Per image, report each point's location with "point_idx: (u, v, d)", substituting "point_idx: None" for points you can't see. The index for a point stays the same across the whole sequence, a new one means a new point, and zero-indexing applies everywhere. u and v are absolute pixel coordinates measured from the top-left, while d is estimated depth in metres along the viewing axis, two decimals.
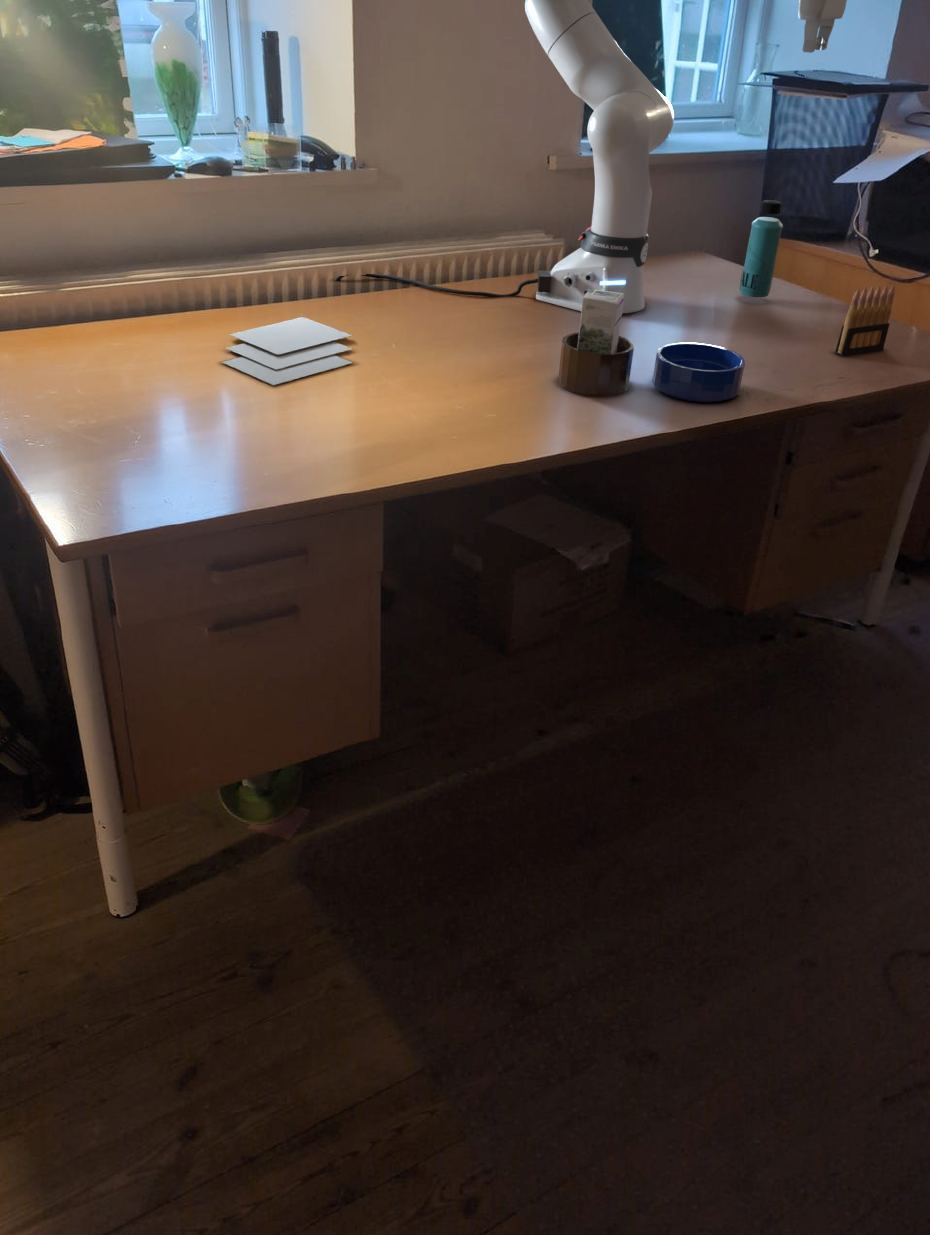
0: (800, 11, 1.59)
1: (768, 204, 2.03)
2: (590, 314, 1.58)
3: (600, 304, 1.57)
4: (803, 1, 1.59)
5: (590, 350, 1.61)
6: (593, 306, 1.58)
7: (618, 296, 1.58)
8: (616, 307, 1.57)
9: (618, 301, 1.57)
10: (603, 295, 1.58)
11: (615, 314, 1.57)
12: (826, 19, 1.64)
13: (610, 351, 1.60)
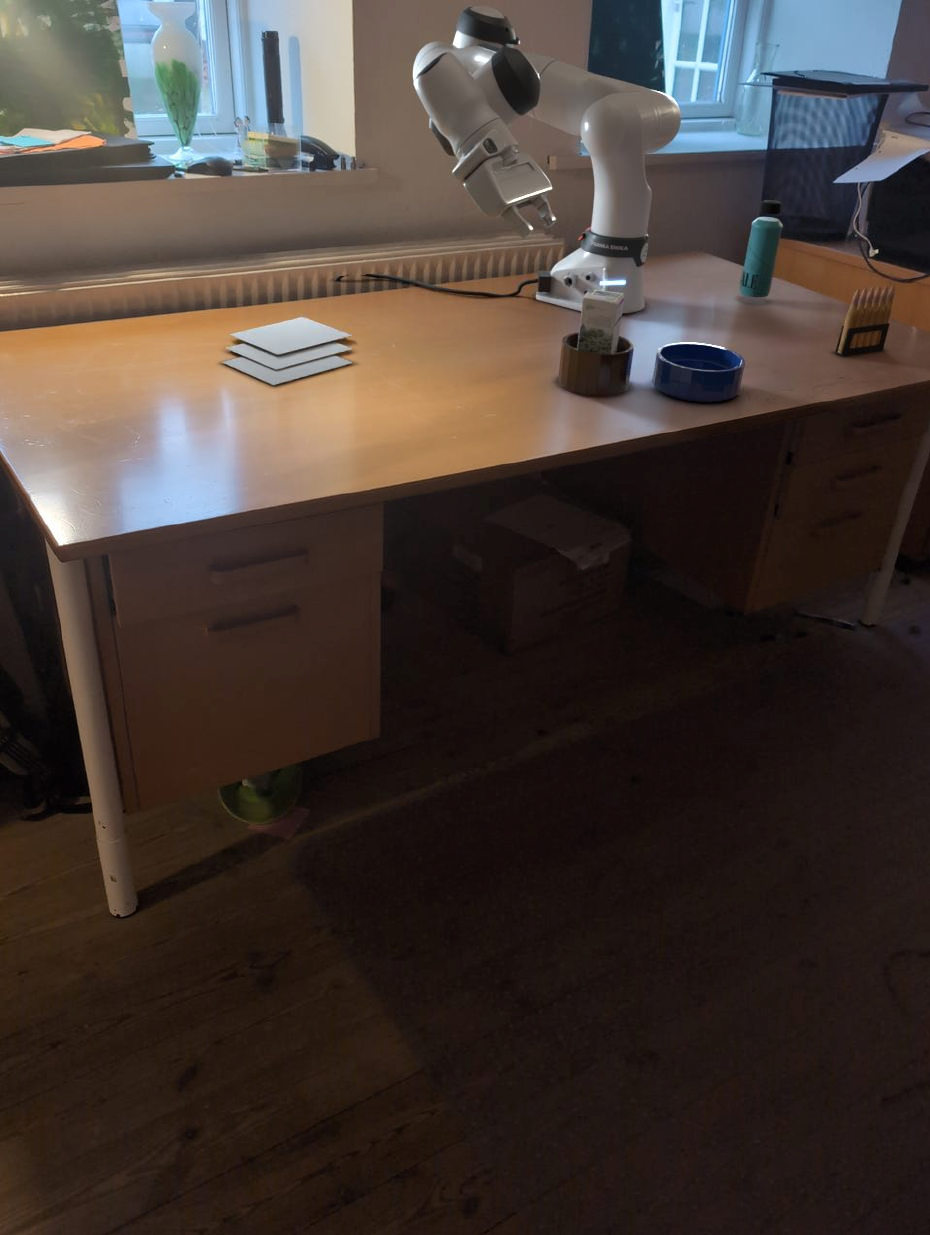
0: (485, 213, 1.51)
1: (768, 204, 2.03)
2: (590, 314, 1.58)
3: (600, 304, 1.57)
4: (481, 205, 1.51)
5: (590, 350, 1.61)
6: (593, 306, 1.58)
7: (618, 296, 1.58)
8: (616, 307, 1.57)
9: (618, 301, 1.57)
10: (603, 295, 1.58)
11: (615, 314, 1.57)
12: (521, 200, 1.55)
13: (610, 351, 1.60)
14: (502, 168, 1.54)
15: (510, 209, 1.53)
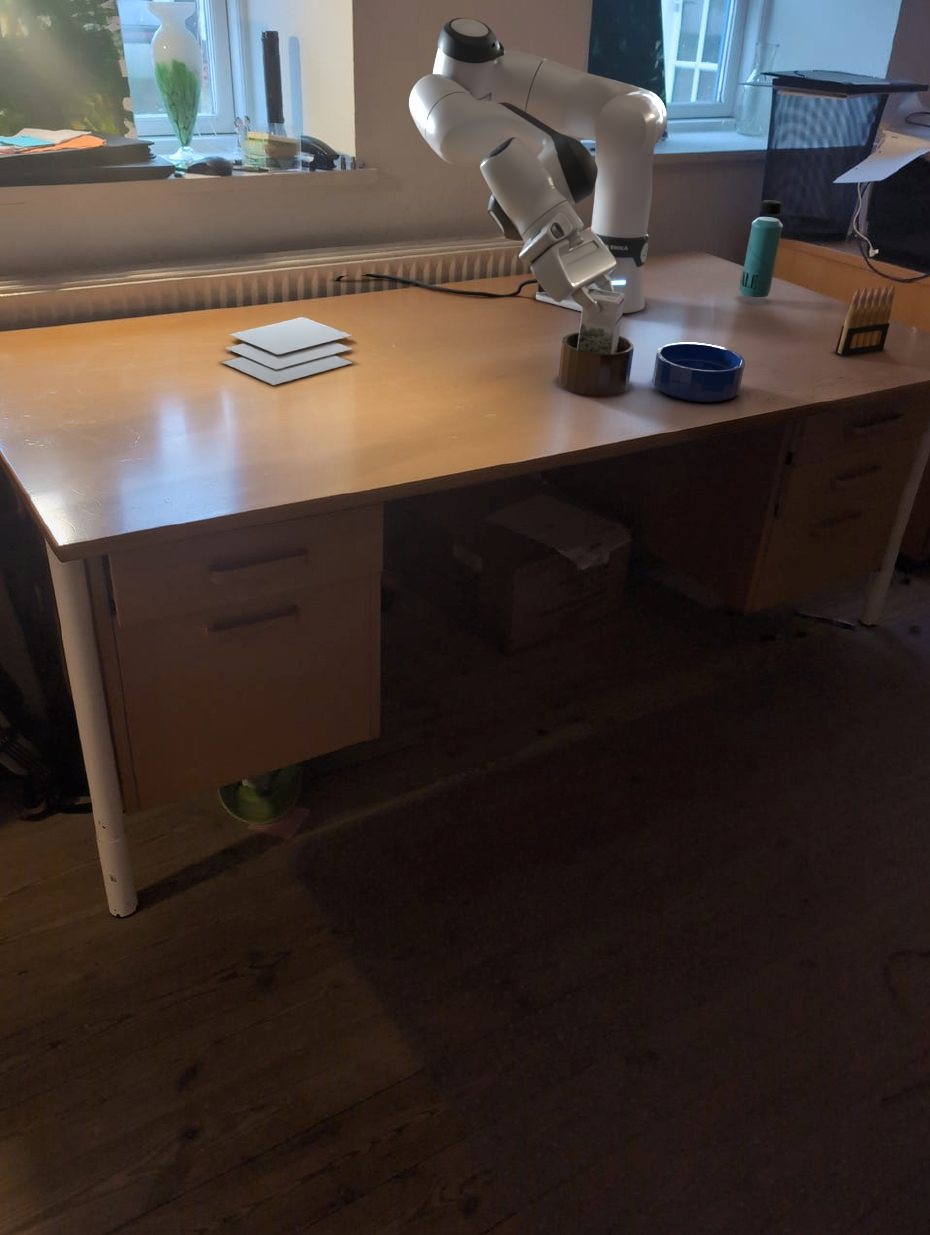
0: (552, 297, 1.53)
1: (768, 204, 2.03)
2: None
3: (600, 303, 1.57)
4: (548, 289, 1.52)
5: (590, 350, 1.61)
6: None
7: (618, 296, 1.58)
8: (616, 306, 1.57)
9: (618, 301, 1.57)
10: (603, 295, 1.58)
11: (615, 313, 1.57)
12: (587, 282, 1.56)
13: (610, 351, 1.60)
14: (568, 250, 1.55)
15: (579, 290, 1.55)
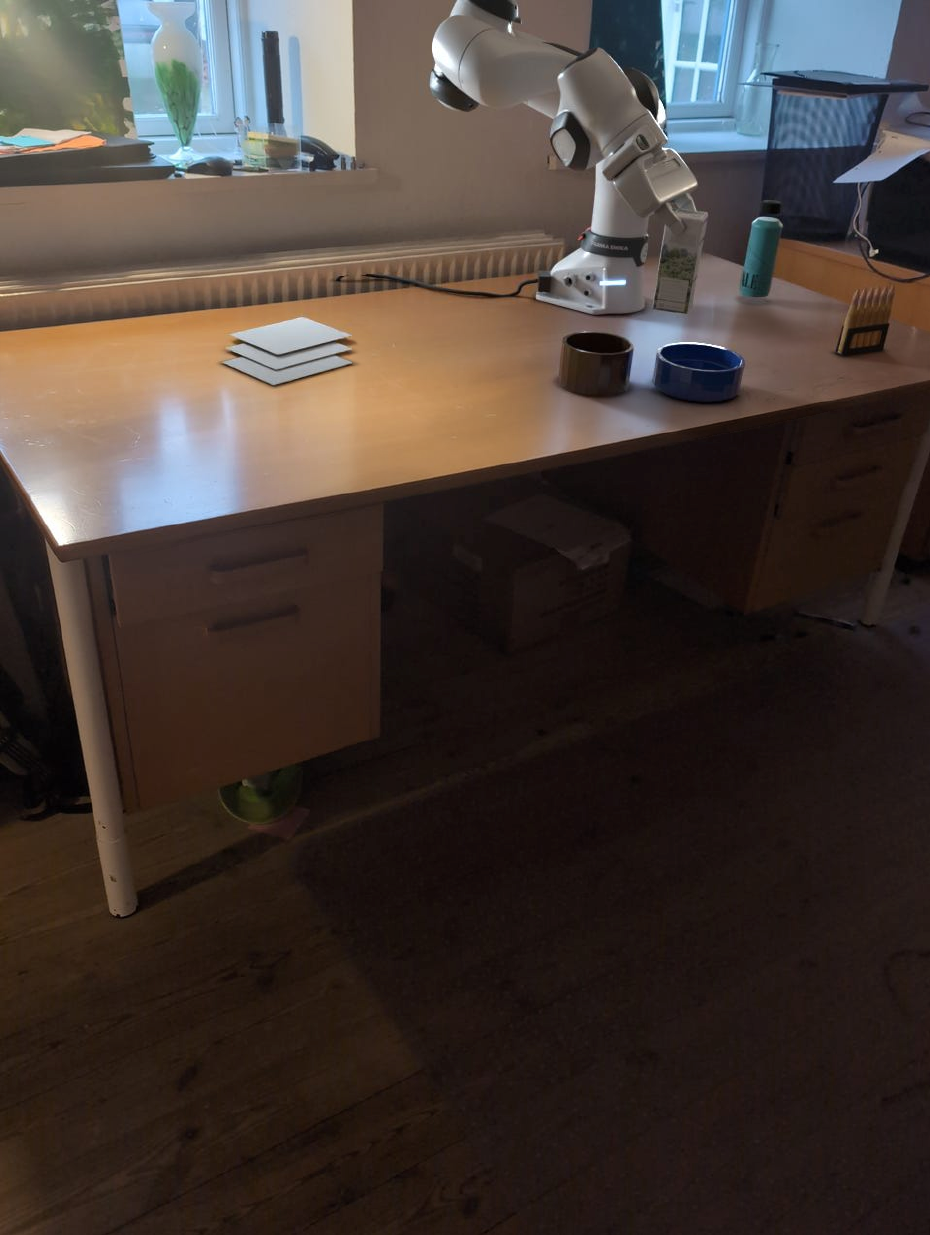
0: (636, 213, 1.46)
1: (768, 204, 2.03)
2: None
3: (684, 221, 1.50)
4: (632, 204, 1.46)
5: (671, 272, 1.55)
6: None
7: (703, 214, 1.52)
8: (701, 224, 1.50)
9: (703, 218, 1.51)
10: (686, 213, 1.52)
11: (700, 232, 1.51)
12: (671, 198, 1.49)
13: (693, 272, 1.54)
14: (652, 165, 1.48)
15: (664, 206, 1.48)
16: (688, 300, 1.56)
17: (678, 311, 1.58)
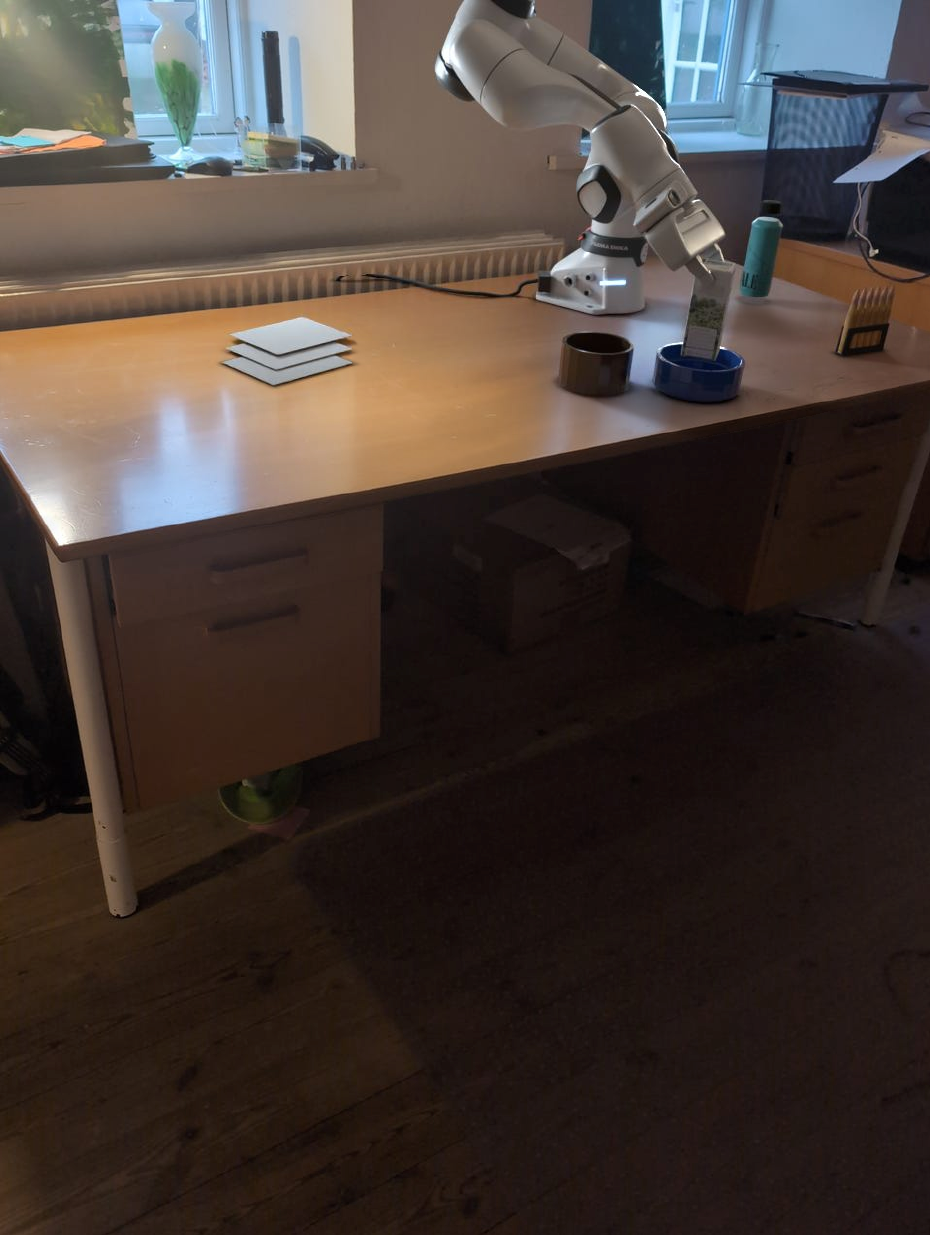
0: (668, 266, 1.50)
1: (768, 204, 2.03)
2: None
3: (714, 273, 1.55)
4: (664, 258, 1.50)
5: (700, 321, 1.59)
6: None
7: (731, 265, 1.56)
8: (730, 276, 1.54)
9: (732, 270, 1.55)
10: (716, 264, 1.56)
11: (729, 283, 1.55)
12: (701, 251, 1.53)
13: (721, 322, 1.58)
14: (683, 219, 1.52)
15: (694, 259, 1.52)
16: (716, 348, 1.60)
17: (706, 358, 1.62)
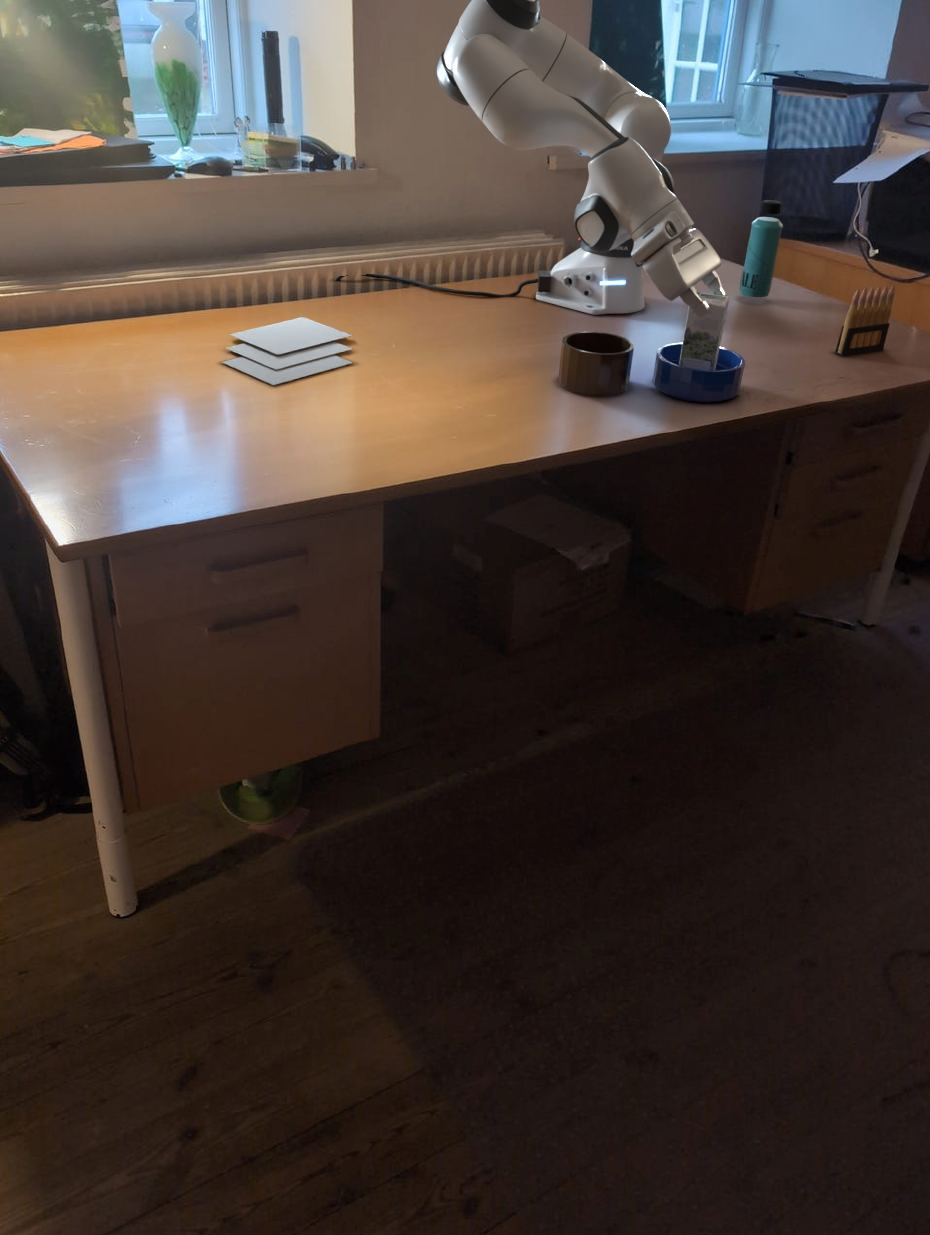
0: (665, 296, 1.52)
1: (768, 204, 2.03)
2: (696, 317, 1.59)
3: None
4: (661, 288, 1.52)
5: (694, 353, 1.62)
6: None
7: (724, 299, 1.58)
8: (723, 310, 1.57)
9: (725, 304, 1.57)
10: (709, 298, 1.59)
11: (722, 317, 1.57)
12: (698, 280, 1.55)
13: (715, 354, 1.61)
14: (680, 249, 1.55)
15: (689, 290, 1.54)
16: None
17: None
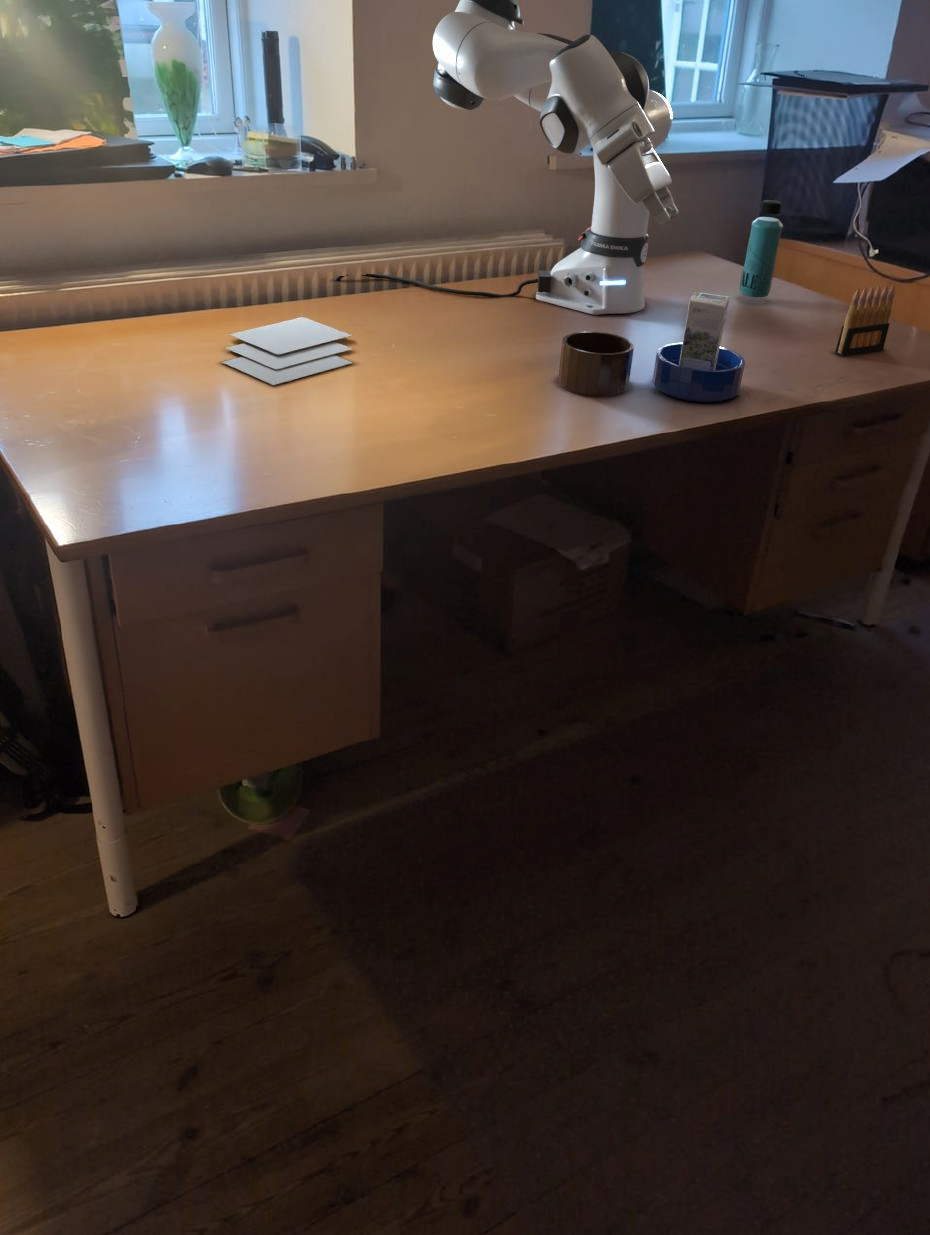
0: (631, 197, 1.49)
1: (768, 204, 2.03)
2: (696, 317, 1.59)
3: (707, 307, 1.57)
4: (628, 188, 1.48)
5: (694, 353, 1.62)
6: (700, 309, 1.58)
7: (724, 299, 1.58)
8: (723, 310, 1.57)
9: (725, 304, 1.57)
10: (709, 298, 1.59)
11: (722, 317, 1.57)
12: (659, 188, 1.53)
13: (715, 354, 1.61)
14: (642, 154, 1.52)
15: (652, 195, 1.51)
16: None
17: None
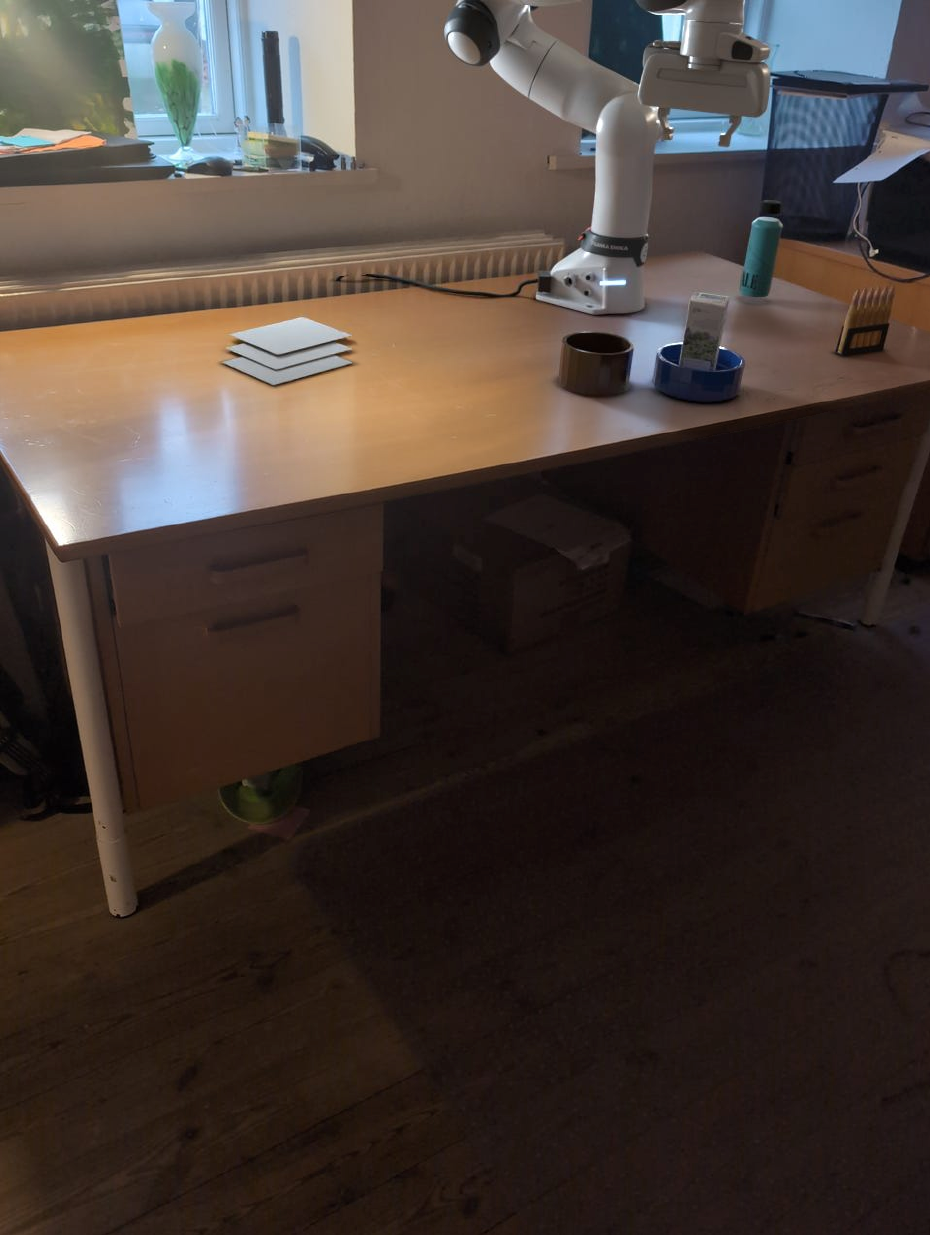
0: (762, 110, 1.53)
1: (768, 204, 2.03)
2: (696, 317, 1.59)
3: (707, 307, 1.57)
4: (763, 100, 1.52)
5: (694, 353, 1.62)
6: (700, 309, 1.58)
7: (724, 299, 1.58)
8: (723, 310, 1.57)
9: (725, 304, 1.57)
10: (709, 298, 1.59)
11: (722, 317, 1.57)
12: None
13: (715, 354, 1.61)
14: None
15: (741, 116, 1.57)
16: None
17: None
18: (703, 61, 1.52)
